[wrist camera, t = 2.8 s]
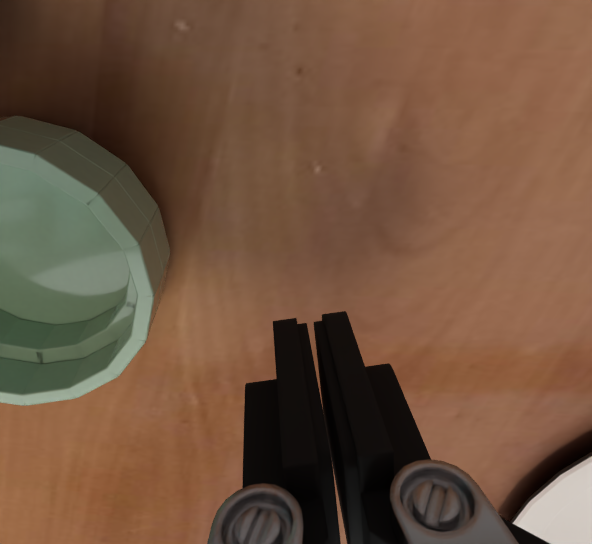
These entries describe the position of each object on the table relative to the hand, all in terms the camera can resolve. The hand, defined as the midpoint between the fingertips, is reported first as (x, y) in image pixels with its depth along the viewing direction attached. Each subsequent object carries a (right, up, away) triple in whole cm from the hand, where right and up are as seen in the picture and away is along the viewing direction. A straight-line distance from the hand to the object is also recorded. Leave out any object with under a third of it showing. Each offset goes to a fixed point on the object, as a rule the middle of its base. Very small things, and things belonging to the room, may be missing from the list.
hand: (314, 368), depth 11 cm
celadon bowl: (-11, +4, +9) cm, 15 cm away
